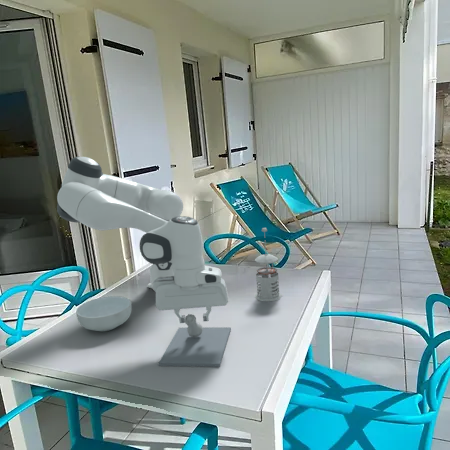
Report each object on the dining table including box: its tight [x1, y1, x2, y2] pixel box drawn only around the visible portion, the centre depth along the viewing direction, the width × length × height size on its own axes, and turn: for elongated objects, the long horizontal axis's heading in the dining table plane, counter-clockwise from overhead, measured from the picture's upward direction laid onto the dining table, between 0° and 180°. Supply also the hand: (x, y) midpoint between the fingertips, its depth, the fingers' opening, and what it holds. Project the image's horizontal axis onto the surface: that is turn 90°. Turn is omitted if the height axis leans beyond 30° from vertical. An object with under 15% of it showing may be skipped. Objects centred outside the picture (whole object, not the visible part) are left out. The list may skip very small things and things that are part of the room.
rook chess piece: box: [184, 313, 203, 337], centre depth 115 cm, size 4×4×8 cm
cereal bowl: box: [75, 295, 133, 332], centre depth 130 cm, size 17×17×7 cm
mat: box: [158, 326, 232, 368], centre depth 113 cm, size 20×16×1 cm
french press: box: [254, 227, 283, 302], centre depth 143 cm, size 10×12×25 cm
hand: (194, 321), depth 115 cm, fingers open, 5 cm apart
